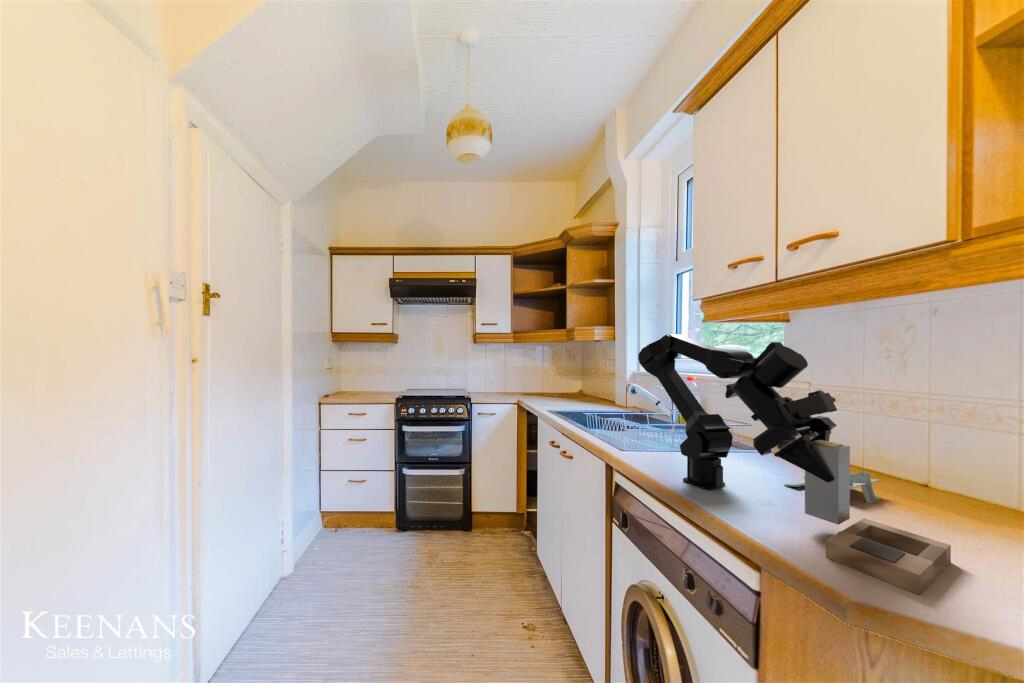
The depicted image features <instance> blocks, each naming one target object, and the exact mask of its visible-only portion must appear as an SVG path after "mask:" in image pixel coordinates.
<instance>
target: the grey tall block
mask: <svg viewBox="0 0 1024 683" xmlns="http://www.w3.org/2000/svg"><path fill="white" fill-rule="evenodd" d="M810 447H811V449H812V450H813V452H814V453H815V454H816V455H817V457H818V458H819V459H820V461H821V462H822V463H823V464H824V466H825V467H826V468H827V470H828V471H829V472H830V474H831V475H832V477H833V478H834V480H833V481H831V482H829V483H828V482H825V481H824V480H822V479H820V478H818V477H816V476H814V475H813V474H811V473H809V472H807V471H805V470H804V476H805V478H804V480H805V486H804V514H806V515H808V516H810V517H811V516H812V517H814V518H818V519H819V520H823V521H826V522H829V523H832V524H835V525H837V526H838V525H839V526H840V525H841V524H843V523H844V522H846V521H848V520H849V519H851V518H850V513H851V512H850V510H851V506H850V503H851V502H850V501H851V497H850V496H851V495H850V494H851V491H850V490H851V488H850V473H851V472H850V471H851V467H850V466H851V464H850V463H851V446H850V445H846V444H843V443H839V442H834V441H830V440H829V441H824V440H815V441H811V442H810Z"/></svg>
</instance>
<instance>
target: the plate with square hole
mask: <svg viewBox="0 0 1024 683" xmlns="http://www.w3.org/2000/svg"><path fill="white" fill-rule="evenodd" d="M951 549H952V545H951V544H948V543H945V542H942V541H939V540H935V539H932V538H929V537H926V536H923V535H921V534H916V533H912V532H911V531H910V532H909V531H907V530H904V529H900V528H897V527H894V526H890V525H887V524H884V523H881V522H877V521H874V520H871V519H868V518H862V519H860V520H858V521H856V522H855V523H853V524H851V525H850V526H848V527H847V528H845V529H843V530H841V531H839V532H838V533H836V534H834V535H832V536H831V537H829V538H827V539H826V540H825V558H827V557H828V558H827V559H829V558H830V559H829V560H832V561H834V560H835V562H837V563H840V564H842V565H845V566H847V567H849V568H852V569H854V570H857V571H859V572H861V573H864V574H867V575H868V576H872V577H874V578H876V579H879V580H881V581H884V582H886V583H888V584H891V585H894V586H896V587H899V588H901V589H902V590H906V591H909V592H911V593H914V594H916V595H919V596H921V595H922V593H923V592H925V591H926V589H927V588H928V587H929V586H930V585H931V584H932V583H933V582H934V581H935V580H936V579H937V578H938V577H939V576H940V574H941V573H942V572H944V570H945V569H946V568H947V567H948V566H949V565H950V564H951V563H952V560H951V559H952V558H951V556H952V554H951V553H952V550H951Z"/></svg>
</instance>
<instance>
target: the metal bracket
mask: <svg viewBox="0 0 1024 683" xmlns="http://www.w3.org/2000/svg"><path fill="white" fill-rule="evenodd" d="M880 481H881V479H877V478H876V479H875V478H871V476H870V474H869V472H867V471H864V470H863V471H860V472H857V473H853V472H850V489H854V488H858V487H860V488H861V490H862V493H863V497H864V499H865V502H866V504H870V503H873V502H877V501H879V500H880V498H879V496H877V495H876V494H875V492H874V488H873V485H872V484H873V483H877V482H880ZM783 486H784V487H795V488H798V487H803V486H804V487H805V475H804V479H801V480H797V481H796V480H795V481H793V482H789V483H784V484H783Z"/></svg>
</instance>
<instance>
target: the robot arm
mask: <svg viewBox="0 0 1024 683" xmlns="http://www.w3.org/2000/svg"><path fill="white" fill-rule="evenodd" d="M679 355H682V356H684V357H686V358H689V359H691V360H694V361H696V362H698V363H700V364H703V366H705V368H706V370H707V371H709V372H710V373H712V374H713V375H714V376H715V377H717V378H718V379H737V380H736V381H735V382H734V383H730V384H726V385H725V389H726V391H725V396H724V398H726V399H731V398H734V397H738V398H739V400H740V401H742V402H743V404H744V405H745V406H746V407H747V408H748V409H749V410H750V411H751V413H753V414H752V415H751V416H750V418H751V419H753V421H754V422H757V421H760V422H761V423H762V425H763V426H764V427H765V428H766V430H764V431H763V432H761V433H760V434H759V435H757V436H755V437H754V438H753V443H752V446H753V448H754V449H755V450H756V452H758V453H759V454H760V456H762V457H763V456H765V455H769V454H771V453H772V452H773V451H772V449H775V448H777V449H778V451H776V452H775V453H773V456H774V457H776V458H780V459H782V460H784V461H786V462H787V463H790V464H792V465H794V466H795V467H798V468H800V469H802V470H804V472H805V471H807V472H809V473H811V474H813V475H814V476H816V477H818V478H820V479H822V480H824V481H825V482H828V483H829V482H831V481H833V480H834V478H833V477H832V475H831V474H830V472H829V471H828V470H827V468H826V467H825V466H824V464H823V463H822V462H821V461H820V459H819V458H818V457H817V455H816V454H815V453H814V452H813V450H812V449H811V447H810V442H811V441H815V440H824V441H829V442H830V438H831V437H830V436H831V434H832V430H833V429H835V428H836V427H837V426H838V425H837V424H836V423H835V422H834V421H833V420H832V419H831V418H830V417H827V416H823V415H822V416H820V415H821V414H825V413H833V412H836V411H838V409H837V407H836V405H835V402H836V398H835V397H834V396H831V394H830V392H824V391H823V390H820V389H819V390H815V391H813V392H808V393H807V396H806V397H802V398H799V399H796V400H793V399H792V398H791V397H788V396H784V397H783V396H782V395H781V394H779V392H778V391H777V390H775V388H779V389H782V388H784V387H785V386H787V385H788V384H789V383H790V382H791V381H792V380H793V379H794V378H796V377H797V376H798V375H799V374H801V372H803V371H804V370H805V369H806V368H807V367H809V366H808V365H809V364H808V360H807V359H806V357H804V355H803V354H801V353H799V352H797V351H796V350H794V349H792V348H790V347H789V346H788V347H787V346H785V345H784V344H782V343H781V341H772V342H770V343H769V344H768V345H767V346H766V348H765V349H764V350H763V351H762V352H761V353H760V354H759V355H758V356H757V357H754V355H753V354H752V353H750V352H749V351H744V350H736V349H727V348H718V347H715V346H712V345H709V344H705V343H703V342H700V341H698V340H695V339H691V338H689V337H686V336H685V335H683V334H680V333H679V334H678V333H677V334H675V333H673V334H672V333H668V334H665V335H663V336H662V337H661V338H660V339H658V340H655V341H653V342H651V343H648V344H647V345H646V346H644V347H643V348H642V349H641V350H640V351H639V353H638V355H637V356H638V357H637V358H638V362H639V364H640V366H641V367H642V368H643V370H644V371H646V372H647V373H649V374H650V375H652V376H653V377H655V378H657V380H658V381H659V383H660V385H661V386H662V387H663V389H664V390H665V393H667V395H668V396H669V398H670V399H671V401H672V403H673V404H674V406H675V408H676V409H677V410H678V412H679V414H680V415H681V416H682V418H683V420H684V421H685V435H686V437H687V438H685V439H684V440H683V441H682V442H681V443H680V444H679V448H680V449H679V450H680V452H681V455H682V456H684V457H686V459H687V462H686V463H687V464H686V466H687V467H686V471H687V472H686V477H684V478H682V481H683V482H686V483H687V484H691V485H694V486H697V487H699V488H702V489H704V490H708V491H710V490H713V489H717V488H720V487H724V486H726V482H724V467H723V465H722V458H725V459H726V458H727V457H728V455H729V452H730V449H731V448H732V444H733V439H734V436H733V435H732V432H731V431H730V430H731V427H730V426H729V425H727V424H726V422H725V421H724V419H723V418H722V416H721V415H720V414H719V413H714V414H712V413H711V414H710V413H708V412H706V411H705V409H704V407H703V406H702V405H701V403H700V402H699V401H698V400H697V398H696V397H695V395H694V394H693V392H692V391H691V390H690V388H689V386H688V385H687V384H686V383H685V381H684V380H683V379H682V377H681V376H680V373H678V371H677V370H676V359H677V358H679ZM814 415H819V416H814ZM812 416H814V417H812Z"/></svg>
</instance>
